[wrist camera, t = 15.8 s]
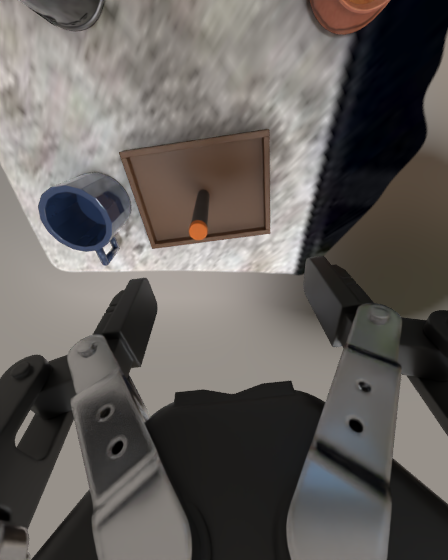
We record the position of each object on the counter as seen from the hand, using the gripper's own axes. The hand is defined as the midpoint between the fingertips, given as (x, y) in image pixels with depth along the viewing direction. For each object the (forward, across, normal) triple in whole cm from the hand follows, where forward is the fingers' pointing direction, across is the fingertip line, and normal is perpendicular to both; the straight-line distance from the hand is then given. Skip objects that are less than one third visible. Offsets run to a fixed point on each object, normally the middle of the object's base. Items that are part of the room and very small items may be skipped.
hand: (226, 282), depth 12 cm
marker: (+30, +3, +3) cm, 30 cm away
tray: (+30, +3, +3) cm, 30 cm away
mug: (+30, +20, +4) cm, 36 cm away
